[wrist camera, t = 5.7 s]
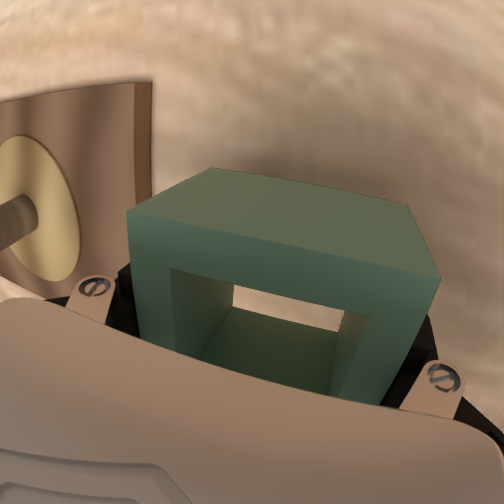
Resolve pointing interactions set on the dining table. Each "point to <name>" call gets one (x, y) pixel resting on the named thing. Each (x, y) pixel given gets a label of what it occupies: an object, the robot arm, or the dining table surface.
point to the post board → (71, 183)
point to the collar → (281, 279)
